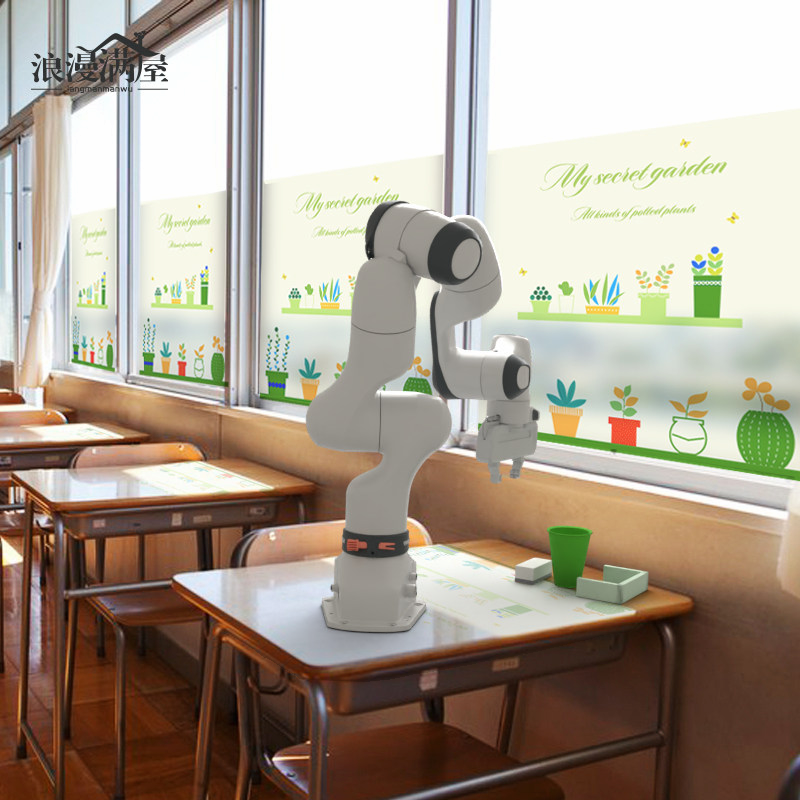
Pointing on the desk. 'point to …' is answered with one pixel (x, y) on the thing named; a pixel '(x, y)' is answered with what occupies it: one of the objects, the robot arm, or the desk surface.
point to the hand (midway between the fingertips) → (505, 480)
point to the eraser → (533, 571)
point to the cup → (568, 553)
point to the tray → (614, 585)
